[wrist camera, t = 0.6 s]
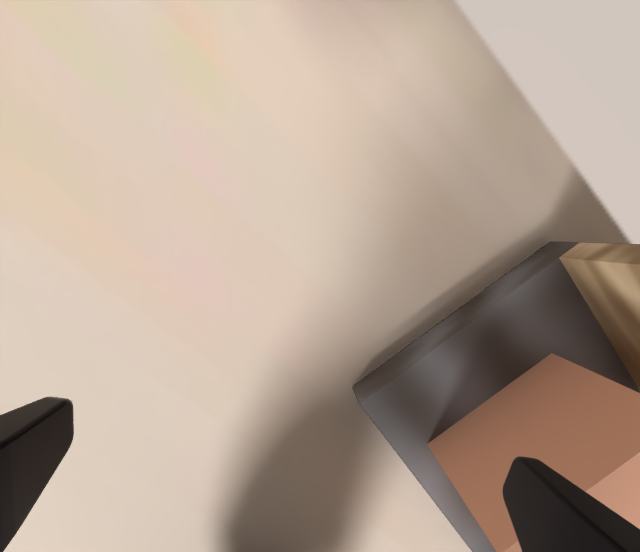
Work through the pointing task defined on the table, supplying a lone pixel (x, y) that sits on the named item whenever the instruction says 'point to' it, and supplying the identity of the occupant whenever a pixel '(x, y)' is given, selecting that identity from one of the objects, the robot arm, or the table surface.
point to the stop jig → (507, 354)
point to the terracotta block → (546, 442)
